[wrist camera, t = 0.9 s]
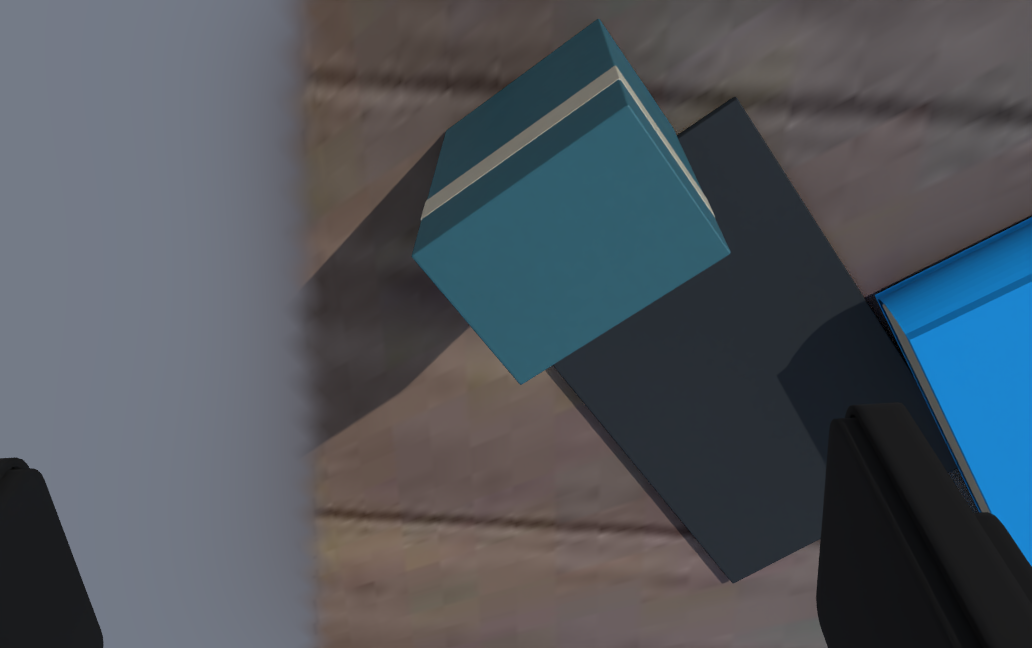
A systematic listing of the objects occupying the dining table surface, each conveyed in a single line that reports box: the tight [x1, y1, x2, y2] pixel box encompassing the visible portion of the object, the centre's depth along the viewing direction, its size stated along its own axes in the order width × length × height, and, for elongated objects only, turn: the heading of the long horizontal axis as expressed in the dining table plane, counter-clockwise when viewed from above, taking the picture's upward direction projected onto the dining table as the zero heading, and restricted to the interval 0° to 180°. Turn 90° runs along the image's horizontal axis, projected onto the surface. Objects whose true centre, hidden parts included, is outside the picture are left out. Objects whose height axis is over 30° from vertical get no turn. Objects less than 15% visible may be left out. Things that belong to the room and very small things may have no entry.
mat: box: [553, 97, 958, 583], centre depth 41 cm, size 20×12×1 cm, turn 36°
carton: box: [412, 19, 731, 385], centre depth 31 cm, size 5×7×12 cm
